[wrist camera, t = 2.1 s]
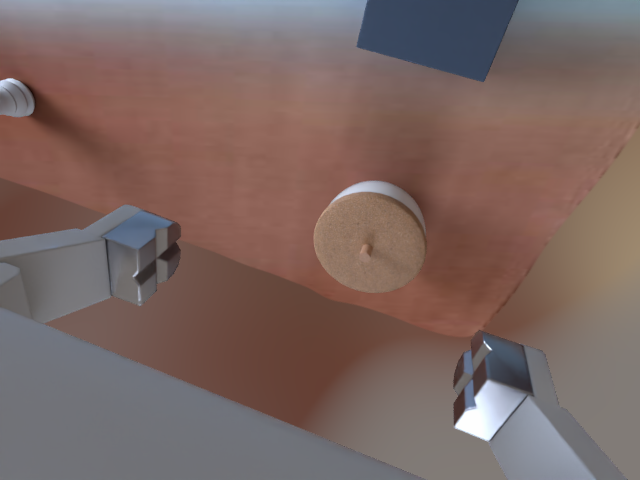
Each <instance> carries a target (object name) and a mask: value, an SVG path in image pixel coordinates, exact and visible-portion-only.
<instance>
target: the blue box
mask: <svg viewBox="0 0 640 480" xmlns="http://www.w3.org/2000/svg"><path fill="white" fill-rule="evenodd" d="M517 3H518V0H367V4H366V8H365V13H364V17H363V21H362V25H361V29H360V34H359V38H358V42H357V47H358V48H362V49H365V50H369V51H372V52H376V53H380V54H383V55H387V56H391V57H394V58H398V59H401V60H405V61H409V62H412V63H416V64H420V65H423V66H427V67H430V68H434V69H438V70H441V71H445V72H449V73H452V74H456V75H459V76H463V77H467V78H470V79H474V80H477V81H481V82H484V81H485V79H486V76H487V74H488V72H489V69H490V67H491V64H492V62H493V60H494V57H495V55H496V53H497V50H498V48H499V45H500V43H501V41H502V38H503V36H504V34H505V31H506V29H507V26H508V24H509V22H510V19H511V17H512V15H513V12H514V10H515V7H516V5H517Z"/></svg>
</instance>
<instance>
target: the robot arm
mask: <svg viewBox="0 0 640 480" xmlns="http://www.w3.org/2000/svg"><path fill="white" fill-rule="evenodd" d="M180 237H181V226H180V225H179V224H178V223H177V222H175V221H172V220H169V219H167V218H164V217H161V216H159V215H156V214H154V213H151V212H148V211H144V210H143V209H140V208H137V207H134V206H132V205H123V206H122V207H120V208H118V209H117V210H115V211H113V212H112V213H110V214H108V215H107V216H105V217H103V218H102V219H100V220H98V221H97V222H95V223H93V224H92V225H90V226H88V227H87V228H85V229H83V230H79V229H72V230H64V231H59V232H53V233H46V234H40V235H33V236H28V237H21V238H15V239H9V240H2V241H0V480H426V479H424V478H421V477H419V476H416V475H414V474H411V473H409V472H407V471H404V470H402V469H399V468H397V467H394V466H392V465H389V464H387V463H384V462H382V461H379V460H377V459H375V458H372V457H370V456H367V455H364V454H362V453H360V452H357V451H355V450H352V449H350V448H347V447H345V446H343V445H340V444H338V443H335V442H333V441H330V440H328V439H325V438H323V437H320V436H318V435H316V434H313V433H310V432H308V431H306V430H303V429H301V428H298V427H296V426H293V425H291V424H288V423H286V422H283V421H281V420H279V419H276V418H274V417H271V416H269V415H266V414H264V413H261V412H259V411H256V410H254V409H252V408H249V407H247V406H244V405H242V404H239V403H237V402H234V401H232V400H229V399H226V398H224V397H222V396H220V395H217V394H214V393H212V392H210V391H207V390H205V389H202V388H200V387H197V386H195V385H192V384H190V383H188V382H185V381H182V380H180V379H178V378H175V377H173V376H170V375H168V374H165V373H163V372H160V371H158V370H156V369H153V368H150V367H148V366H146V365H143V364H141V363H138V362H136V361H133V360H131V359H128V358H126V357H123V356H121V355H119V354H116V353H114V352H111V351H109V350H106V349H104V348H101V347H99V346H96V345H94V344H91V343H89V342H87V341H84V340H82V339H79V338H77V337H74V336H72V335H69V334H67V333H64V332H62V331H59V330H57V329H55V328H52V327H50V326H47V325H45V324H44V323H46V322H49V321H51V320H54V319H57V318H59V317H62V316H64V315H67V314H69V313H72V312H74V311H77V310H80V309H82V308H85V307H87V306H90V305H92V304H95V303H98V302H100V301H103V300H106V299H108V298H110V297H111V296H114V297H117V298H119V299H122V300H125V301H128V302H131V303H134V304H136V305H139V306H141V305H142V304H143V303H144V302H145V301H146V300H148V299H149V298H150V297H151V296H152V295H153V294H154V293H155V292H156V291H157V284H158V283H161V282H165V281H167V280H168V279H169V278H170V277H171V276H172V275H173V274H174V272H175V270H176V268H177V267H178V264H179V260H180V251H181V250H180V248H179V246H178V245H177V243H176V241H177V240H178V239H179V238H180ZM453 387H454V390H455V392H456V393H457V395H458V397H457V399H456V401H455V402H454V428H457V429H459V430H462V431H464V432H467V433H469V434H471V435H474V436H476V437H478V438H481V439H483V440H486V441H488V442H489V445H490V447H491V449H492V451H493V453H494V455H495V457H496V459H497V461H498V463H499V465H500V466H501V468H502V470H503V472H504V474H505V476H506V478H507V480H627V479H626V477H625V476H624V475H623V474H622V473H621V472H620V471H619V469H618V468H617V467H616V466H615V465H614V463H613V462H612V461H611V460H610V459H609V458H608V457H607V455H606V454H605V453H604V452H603V451H602V450H601V448H600V447H599V446H598V445H597V444H596V443H595V441H594V440H593V439H592V438H591V437H590V436H589V435H588V434H587V432H586V431H585V430H584V429H583V428H582V426H580V424H579V423H578V422H577V421H576V420H575V418H574V417H573V416H572V415H571V414H570V413H569V412H568V410H567V409H565V408H562V407H560V406H559V402H558V398H557V395H556V391H555V388H554V384H553V381H552V377H551V373H550V370H549V366H548V362H547V359H546V355H545V354H544V352H543V351H541V350H539V349H536V348H532V347H529V346H526V345H523V344H518V343H515V342H513V341H509V340H507V339H504V338H501V337H498V336H495V335H492V334H490V333H487V332H484V331H481V330H479V331H478V332H476V333H475V335H474V336H473V338H472V339H471V350H469V351H466V352H464V353H463V354H462V356H461V358H460V359H459V361H458V364H457V367H456V370H455V374H454V386H453Z"/></svg>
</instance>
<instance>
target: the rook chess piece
mask: <svg viewBox="0 0 640 480" xmlns="http://www.w3.org/2000/svg"><path fill="white" fill-rule="evenodd" d="M34 107H35V100H34V97H33V95H32V93H31V91H30V90H29V89H28V87H27V86H25V85H24V84H23V83H22V82H20V81H18V80H15V79H13V78H10V79H6V80H2V81H0V115H1V114H5V115H8V116H13V117H23V116H29V115H30V114H32V113H33V110H34Z"/></svg>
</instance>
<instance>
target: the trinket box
mask: <svg viewBox="0 0 640 480" xmlns="http://www.w3.org/2000/svg"><path fill="white" fill-rule="evenodd" d="M314 247H315V251H316V254H317V257H318V259H319V261H320V263H321V264H322V266H323V267H324V269H325V270H326V271H327V272H328V273H329V274H330V275H331V276H332V277H333V278H334V279H336V280H337V281H339V282H340V283H342V284H343V285H345V286H347V287H350V288H352V289H355V290H358V291H363V292H369V293H382V292H388V291H392V290H395V289H398V288H400V287H402V286H404V285H406V284H407V283H409V282H410V281H411V280H413V279H414V278H415V276H416V275H417V274H418V273H419V271H420V270H421V268H422V266H423V264H424V261H425V257H426V247H427V241H426V228H425V222H424V218H423V215H422V212H421V210H420V208H419V206H418V205H417V203H416V201H415V200H414V199H413V198H412V197H411V196H410V195H409V194H408V193H407V192H406V191H404V190H403V189H401V188H400V187H398V186H396V185H394V184H391V183H388V182H384V181H365V182H360V183H357V184H354V185H352V186H350V187H348V188H347V189H345V190H344V191H342V192H341V193H340V194H339V195H338V196H337V197H336V198H335V199H334V200H333V201H332V202H331V203H330V204H329V206H328V207H327V208H326V209H325V210H324V212H323V213H322V215H321V216H320V218H319V220H318V222H317V224H316V227H315V231H314Z"/></svg>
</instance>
